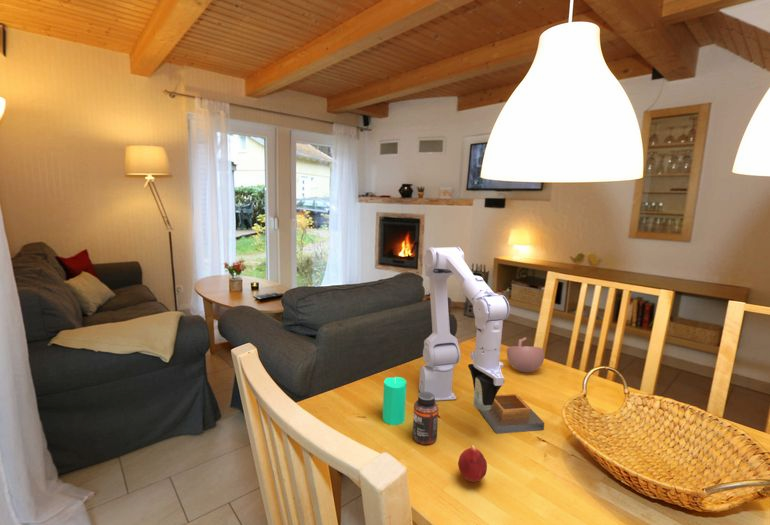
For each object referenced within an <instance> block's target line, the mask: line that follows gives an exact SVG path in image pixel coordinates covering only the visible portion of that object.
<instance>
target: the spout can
mask: <svg viewBox="0 0 770 525" xmlns="http://www.w3.org/2000/svg"><path fill="white" fill-rule="evenodd" d="M483 376H486V377H487V375H484V374H481V375H477V376H476V379H475V391H474V392H473V393H474V394H473V406H474V408H475V409H478V410H479V409H480V410H485V411H487V410H490V409H492V405H484V404H483V401H482V388H481V383H480V381H479V378H478V377H483Z"/></svg>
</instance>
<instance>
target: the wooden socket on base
mask: <svg viewBox="0 0 770 525" xmlns="http://www.w3.org/2000/svg"><path fill="white" fill-rule="evenodd" d="M478 411H479V412H480V413H481V415H482V416H483V417H484V419H485V420H486V421H487V423H488V424H489V426H490V427H491V428H492V429H493V431H494V432H495V434H497V435H498V434H508V433H509V434H510V433H521V432H522V433H523V432H535V431H544V430H545V429H544V428H545V422H544V421H543V420H542V419H541V417H539V416H538V414H536V412H535V411H533V410H532V408H530V406H529V405H528V403H526V402H525V401H524V400H523V399H522V398H521V397H520V396H519V395H517V394H516V393H509V394H496V396H495V399H494V402H493V404H492V409H490V410H487V411H485V410H480V409H478Z"/></svg>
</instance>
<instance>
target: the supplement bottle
mask: <svg viewBox="0 0 770 525" xmlns="http://www.w3.org/2000/svg"><path fill="white" fill-rule="evenodd" d="M417 397H418V398H417V399H416V401H415V402H414V405H413V415H412V416H413V418H412V419H413V421H412V425H413V426H412V438H413V440H414V441H415V442H416V443H417V444H421V445H431V444H433V443H435V442H436V441H437V439H438V424H439V422H438V421H439V404H438V403H437V402H436V401H435V395H434V394H433V393H431V392H419V393H418V395H417Z"/></svg>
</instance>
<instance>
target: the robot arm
mask: <svg viewBox="0 0 770 525" xmlns="http://www.w3.org/2000/svg"><path fill="white" fill-rule="evenodd" d="M464 252H465V251H463V250H462V248H461V247H459V246H449V247H446V246H445V247H443V246H442V247H433V246H430V247H428V248H427V249H426V251H425V253H424V257H423V260H424V264H423V265H424V271H425V272H424V273H425V276H426V277H428V279H429V280H428V282H429V297H430V312H431V314H430V316H431V327H432V328H431V330H432V332H431V333H430V335H428V337H426V339H424V340H423V350H422V358H423V361H424V364H425V365H422V366H420V368H419V380H418V381H419V382H418V383H419V384H418V386H417V387H418V390H419V393H421V392H431V393H433V394H434V395H435V402H436V401H448V400H449V401H451V400H457V397H456V395H455V393H454V392H453V391H452V390H453V377H454V368H456V365H458V363H460V361H461V355H462V354H461V349H460V346H459V342H458V338H457V337H455V336H454V335H453V334H452V333H451V331H450V330H451V328H450V316H449V315H450V314H449V299H448V297H449V296H448V282H447V281H448V278H450V276H453V275H454V276H455V277H456V279H458V281H460V283H461V284H462V286H461V289H462V290H461V291H462V292H463V293H464V295H465V296H466V297H467V299H468V300H469V302H470V303H471V305H472V306H473V307H472V309H473V310H472V311H473V315H474V324H475V327H476V334H475V335H476V336H475V338H476V339H475V347H474V348H475V350H472V351H470V359H471V360H472V363H469V364H467V365H468V366H467V368H468V369H469V371H470V374H471V378H472V383H473V390H474V392H475V379H476V376H477V375H481V374H484V375H487V377H486V376H483V377H478V378H479V381H480V383H481V388H482V401H483V404H484V405H492V404H493V402H494V399H495V396H496V395H498V394H497V393H498V392H499V390H500V389H501V387H503V386H504V384H505V377H504V376H503V373H502V369H501V368H503V367H504V363H503V362H502V361H500V356H501V347H502V346H501V345H502V335H503V324H504V321H505V320H507V319H508V317H509V316H510V311H511V310H510V309H511V307H510V303H509V301H508V299H507V298H506V296H505V295H502V294H498V293H495V292H494V291H493V290H492V288H490V286H489V285H488V284H487V283H486V281H485V280H484V278H483V277H482V276H480V275H474V273H473V271H472V270H471V268H470V267H469V266H468V264H467V263H466V261H465V253H464Z"/></svg>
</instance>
